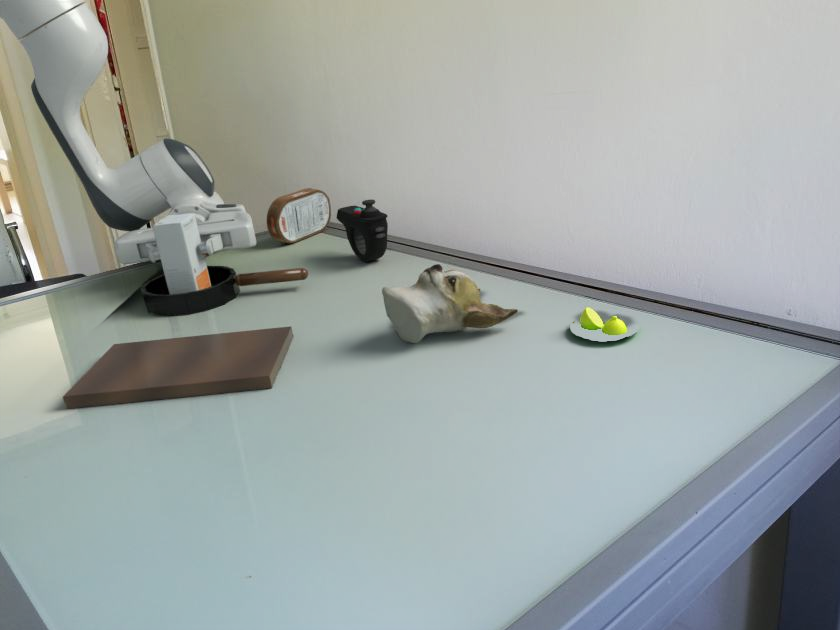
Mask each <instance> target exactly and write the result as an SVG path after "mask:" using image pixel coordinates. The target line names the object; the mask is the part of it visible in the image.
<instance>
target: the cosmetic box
mask: <svg viewBox="0 0 840 630" xmlns="http://www.w3.org/2000/svg"><path fill="white" fill-rule="evenodd" d="M167 215H168V214H167ZM167 215H166V216H164V217H163V218H161V219H159V220H158V221H157V222H156V223H154V224H153V225H152V227H151V228H153V231H154V235H155V239H156V243H157V247H158V251H159V255H160V259H161V266H162V270H163V275H164V274H165V278H166V282H167V286H168V290H169V294H170V295H171V294H181V293H187V292H192V291H197V290H202V289H205V288H208V287H211V283H210V278H209V274H208V270H207V266H208V265H207V261H206V258H205V256H202V255H201V250H200V247H199V244H200V242H201V239H200V235H199V231H198V226H197V222H196V218H195V214H194V213H192V214H180V215H168V216H167Z"/></svg>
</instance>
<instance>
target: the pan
mask: <svg viewBox="0 0 840 630" xmlns="http://www.w3.org/2000/svg"><path fill="white" fill-rule="evenodd" d="M207 270H208V274H209V278H210V283H211V287H208V288H205V289H202V290H197V291H192V292H187V293H181V294H171V295H170V294H169V290H168V286H167V282H166V278H165V274H164V273H163V274H161V275H158V276H157V277H154V278H152V279H150V280H148V281H146V282H145V283H144V284H143V285H142V286H141V287H140V291H141V295H142V299H143V302H144V305H145V308H146V312H147V313H149V314H152V315H154V316H161V317H162V316H163V317H176V316H185V315H186V316H187V315H192V314H196V313H201V312H205V311H206V312H207V311H209V310H213V309H216V308H218V307H221V306H224V305H226V304H227V303H229V302H231V301H233V300H234V299H236V298H237V297H238V296H239V294H240V293H241V289H240V287H247V286H255V285H256V286H258V285H269V284H277V283H286V282H287V283H288V282H297V281H305V280H306V279H307V278H308V277H309V270H308V269H306V268H305V267H297V268H287V269H276V270H275V269H274V270H266V271H257V272H247V273H246V272H245V273H238V274H237V272H236V271H235V269H234V268H232V267H229V266H226V265H225V266H224V265H207Z"/></svg>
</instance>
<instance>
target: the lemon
mask: <svg viewBox="0 0 840 630" xmlns="http://www.w3.org/2000/svg"><path fill="white" fill-rule="evenodd" d="M598 314H599V313H598V312H596V311H595V310H594V309H593V308H591V307H586V308H585V309H584V310H583V311H582V313H581V314H580V317H579V318H580V324H581V327H582V328H584V329H588V330H597V329H601V328H602V332H603V333H605V334H608V335H620V334H624V333H626V332H627V327H626V325H625V323H624V322H623V321H622V320H620V319H618V318H617V316H612V318H611V319H609V320H608V321H606V322H605V324H603V321H602V319H601V318H600V316H599V315H598Z"/></svg>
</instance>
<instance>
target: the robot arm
mask: <svg viewBox="0 0 840 630" xmlns="http://www.w3.org/2000/svg"><path fill="white" fill-rule="evenodd" d="M0 19H2V20H3V21H4V23H5V24H6V25H7V27H8V29H9V30H10V31H11V32H12V34H13V35H14V36H15V37H16V39H17V40H18V41H19V43H20V44H21V46H23V48H24V50H25V52H26V55H28V58H29V60H30V63H31V66H32V70H33V74H34V75H33V76H34V78H33V80H32V83H31V85H30V89H31V93H32V96H33V99H34V101H35V104H36V105H37V108H38V110H39V111H40V113H41V115H42V117H43V119H44V120H45V123H46V124H47V126H48V128H49V129H50V131H51V132H52V135H53V136H54V138H55V139H56V141H57V144H58V145H59V147H60V148H61V150H62V152H63V153H64V155H65V156H66V158H67V160H68V161H69V163H70V165H71V167H72V168H73V170H74V172H75V173H76V175H77V177H78V178H79V180H80V182H81V184H82V186H83V188H84V190H85V193H86V194H87V196H88V198H89V201H90V202H91V205H92V207H93V209H94V210H95V212H96V214H97V216H98V217H99V218H100V219H101V221H102V222H103V223H104V224H105V225H106V226H107V227H109V228H111V229H113V230H117V231H121V232H125V233H123V234H122V235H121V236H119V237H118V238H116V239H115V240H114V242H113V247H114V252H115V255H116V258H117V261H118V262H119V263H120V264H122V265H132V264H139V263H147V262H151V264H152V263H160V262H161V259H160V255H159V251H158V247H157V243H156V239H155V235H154V231H153V227H148V228H147V227H146V228H143V227H144V226H146V225H147V224H149V223H151V221H153V219H154V218H156V217H158V216H159V215H161V214H163V213H165V212H166V211H169V210H170V211H169V212H168V214H167V215H166V216H168V215H180V214H192V213H194V214H195V218H196V222H197V226H198V231H199V235H200V239H201V242H200V244H199V247H200V250H201V255H202V256H205V259H206V258H207V257H210V256H211V255H212V256H213V255H215V254H216V255H217V254H218V253H220V252H227V251H234V250H240V249H250V248H253V247H256V246H257V238H256V232H255V228H254V227H255V226H254V223H253V219H252V216H251V214H250V213H248V212H247V211H246V208H245V205H243V204H241V203H240V204H238V203H237V204H235V203H233V204H230V203H229V204H228V203H227V204H226V203H225V202H224V200H223V199H222V197H221V195H220V194H218V193H217V192H216V191H215V179H214V176H213V174H212V173H211V171H210V169H209V167H208V165H207V164H206V162H205V161H204V160H203V158H202V157H201V156H200V155H199V153H197V151H196V150H195V149H193V148H192V147H191V146H190V145H188V144H186V143H184V142H182V141H179V140H177V139H173V138H168V137H167V138H163V139H161V140H160V141H158V142H156V143H154V144H153V145H151V146H149V147H148V148H145V149H144V150H142V151H141V152H140V153H138V154H136V155H135V156H134V157H131V158H130V159H128V160H127V161H125V162H123V163H121V164H119V165H117V166H116V167H113V168H111V167H109V166H107V165H106V163H105V162H104V160H103V158H102V156H101V154H100V152H99V151H98V149H97V147H96V146H95V144H94V142H93V140H92V137H90V135H89V133H88V132H87V129H86V128H85V126H84V124H83V121H82V118H81V107H82V103H83V101H84V99H85V97H86V95H87V94H88V92H89V90H91V88H92V86H93V85H94V83H95V82H96V81H97V79H98V78H99V76H100V75H101V73H102V72H103V69H104V68H105V65H106V63H107V59H108V55H109V42H108V36H107V34H106V32H105V30H104V28H103V26H102V25H101V22H99V20H98V18H97V16H96V15H95V13H94V12H93V10H92V9H91V8H90V6H89V4H88V3H87V2H86V0H0ZM161 263H162V262H161Z"/></svg>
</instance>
